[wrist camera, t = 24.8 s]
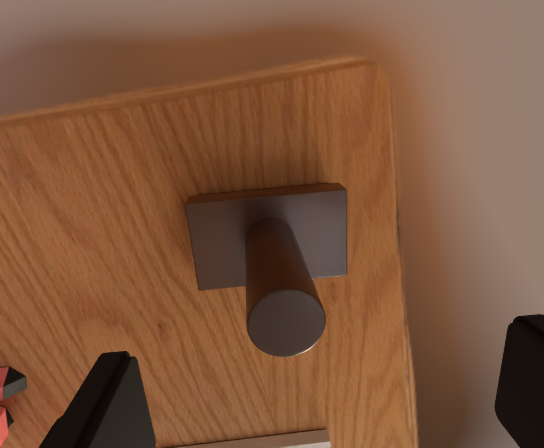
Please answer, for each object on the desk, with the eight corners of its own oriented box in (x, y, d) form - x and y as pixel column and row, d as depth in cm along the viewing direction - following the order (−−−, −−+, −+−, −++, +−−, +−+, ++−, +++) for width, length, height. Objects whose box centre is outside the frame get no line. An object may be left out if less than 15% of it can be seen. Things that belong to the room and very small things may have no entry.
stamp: (333, 177, 19) (413, 242, 10) (334, 254, 21) (405, 371, 12) (192, 190, 19) (145, 269, 10) (204, 267, 20) (172, 399, 11)
